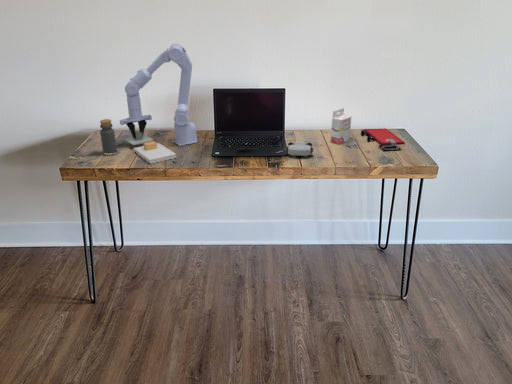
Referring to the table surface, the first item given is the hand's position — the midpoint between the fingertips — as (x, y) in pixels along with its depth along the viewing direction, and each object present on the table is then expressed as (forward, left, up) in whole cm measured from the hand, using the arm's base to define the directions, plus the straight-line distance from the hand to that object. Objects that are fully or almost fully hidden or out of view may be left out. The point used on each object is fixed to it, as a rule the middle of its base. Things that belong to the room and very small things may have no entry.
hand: (138, 137), depth 224 cm
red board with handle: (-95, +62, -4) cm, 114 cm away
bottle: (+15, +4, -4) cm, 16 cm away
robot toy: (-53, +53, -4) cm, 75 cm away
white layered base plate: (0, +18, -3) cm, 18 cm away
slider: (0, +14, -1) cm, 14 cm away
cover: (0, +1, -2) cm, 2 cm away
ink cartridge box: (-78, +52, -4) cm, 94 cm away
